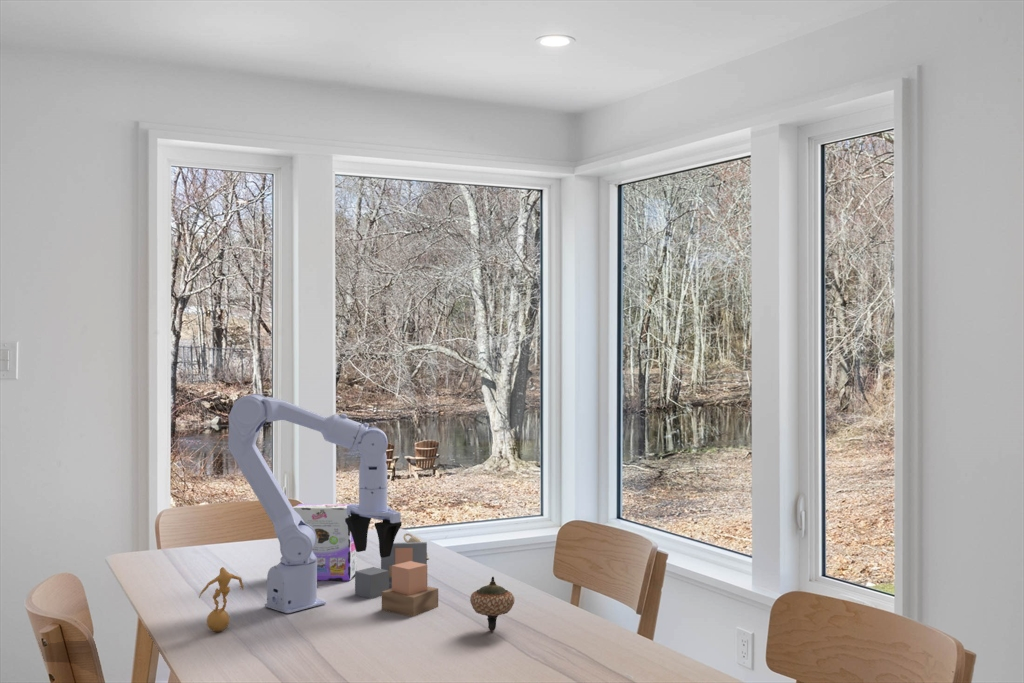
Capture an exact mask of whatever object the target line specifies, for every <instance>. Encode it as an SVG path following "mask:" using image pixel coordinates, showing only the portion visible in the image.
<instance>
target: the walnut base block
mask: <svg viewBox="0 0 1024 683" xmlns="http://www.w3.org/2000/svg"><path fill="white" fill-rule="evenodd" d="M436 608H439V588H438V587H432V586H427V590H425V591H421V592H418V593H414V594H411V595H407V594H403V593H399V592H395V591H392V588H389V589H388V590H385V591H382V596H381V611H383V612H389V613H391V614H393V613H394V614H397V615H398V614H399V615H403V616H407V617H413V618H414V617H417V616H419V615H421V614H425V613H427V612H428V611H431V610H434V609H436Z"/></svg>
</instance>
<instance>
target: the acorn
mask: <svg viewBox="0 0 1024 683" xmlns="http://www.w3.org/2000/svg"><path fill="white" fill-rule="evenodd" d="M469 598H470V600H469V601H470V604H471V607H472V609H473V610H474V612H475V613H476V614H479V615H482V616H485V617H486V616H487V618H486V620H487V626H488V627H487V628H488V630H489V631H490V632H494V631H495V630H496V628H497V618H498V617H499V616H501V615H505V614H508V613H509V612H510V611H511V610H512V608H513V606H514V604H515V596H514V595H513V593H512V592H511V591H509V590H508V589H505V588H504V587H503V586H501V585H498V584H497V583H496V581H495V577H494V576H491V579H490V582H489V584H488V585H485V586H482V587H480V588H479V589H477V590H475V591H473V592H472V593H471V594H470V597H469Z"/></svg>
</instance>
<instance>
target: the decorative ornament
mask: <svg viewBox="0 0 1024 683" xmlns="http://www.w3.org/2000/svg"><path fill="white" fill-rule="evenodd" d="M407 536H410V538H409V539H407ZM403 540H404V543H407V542H423V541H422V540H421V539H420V538H419V537H417V536H415V535H413V534H411V533H409V532H408V533H405V534H403ZM427 560H430V558H429V555H428V554H427Z"/></svg>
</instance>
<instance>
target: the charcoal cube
mask: <svg viewBox="0 0 1024 683" xmlns="http://www.w3.org/2000/svg"><path fill="white" fill-rule="evenodd" d="M388 589H390V588H389V571H388V570H384V569H381V567H380V568H379V567H374V566H372V567H368V568H364V569H359V570H356V571H355V576H354V595H356V596H359V597H362V598H366V599H369V600H371V599H376V598H378V597H382V591H385V590H388Z"/></svg>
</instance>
